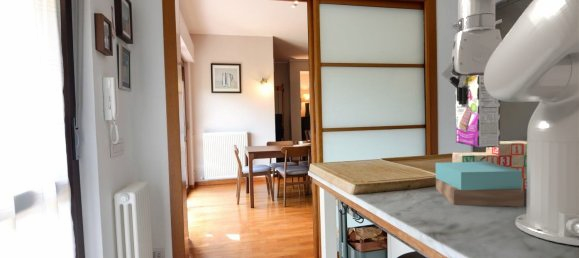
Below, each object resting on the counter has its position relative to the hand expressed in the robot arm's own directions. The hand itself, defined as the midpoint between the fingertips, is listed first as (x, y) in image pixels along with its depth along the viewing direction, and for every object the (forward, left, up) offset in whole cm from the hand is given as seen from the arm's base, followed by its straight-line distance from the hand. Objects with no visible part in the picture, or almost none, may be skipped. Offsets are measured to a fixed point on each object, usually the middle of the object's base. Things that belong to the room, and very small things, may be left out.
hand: (476, 103), depth 74 cm
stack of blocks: (+11, -9, -23) cm, 27 cm away
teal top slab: (0, 0, -19) cm, 19 cm away
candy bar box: (0, 0, -10) cm, 10 cm away
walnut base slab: (0, 0, -23) cm, 23 cm away
